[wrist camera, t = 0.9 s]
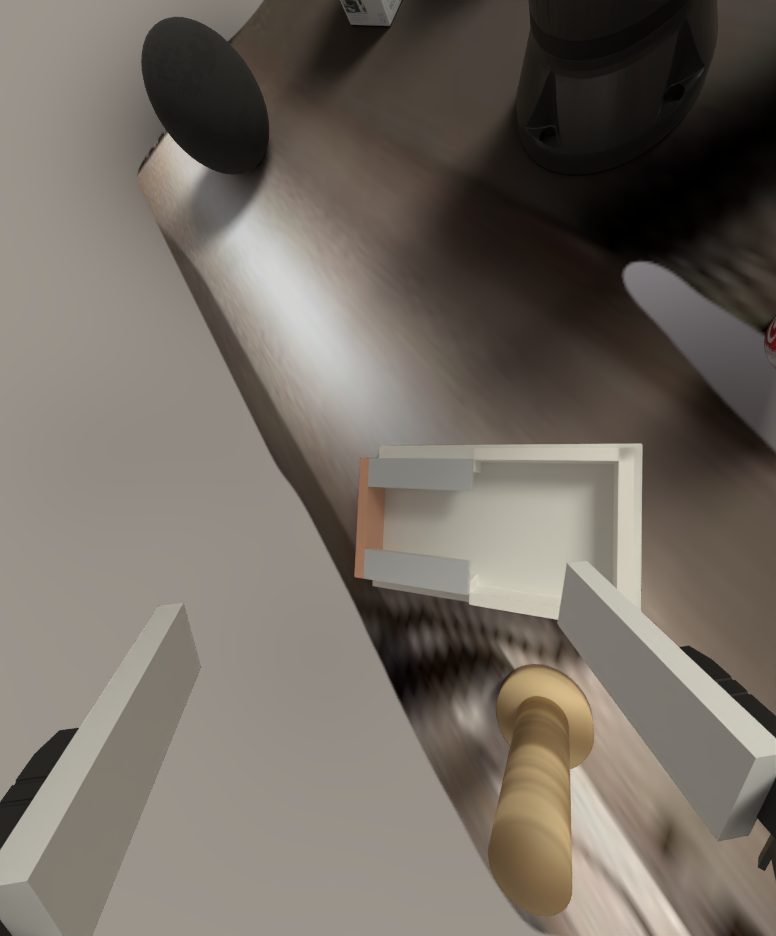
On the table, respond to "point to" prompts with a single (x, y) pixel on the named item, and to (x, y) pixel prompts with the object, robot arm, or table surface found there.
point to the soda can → (771, 342)
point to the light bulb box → (370, 11)
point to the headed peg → (538, 786)
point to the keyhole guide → (500, 521)
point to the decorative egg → (205, 95)
